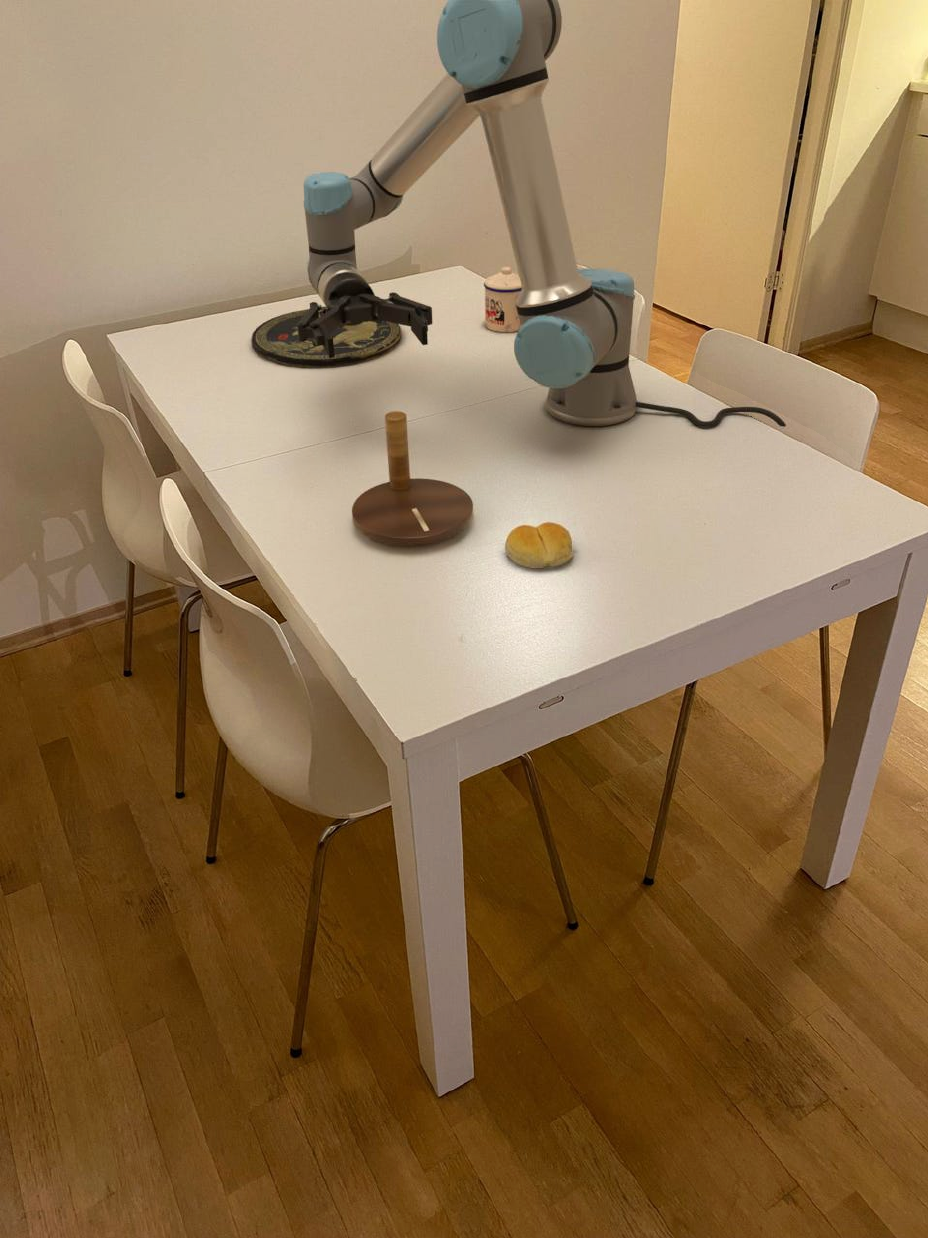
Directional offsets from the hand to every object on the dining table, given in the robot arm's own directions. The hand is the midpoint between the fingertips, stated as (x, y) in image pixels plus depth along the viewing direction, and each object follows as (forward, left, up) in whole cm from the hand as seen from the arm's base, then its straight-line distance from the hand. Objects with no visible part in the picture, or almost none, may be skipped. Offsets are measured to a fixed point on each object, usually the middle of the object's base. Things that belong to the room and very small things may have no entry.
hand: (378, 342), depth 142 cm
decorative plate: (+28, -54, -21) cm, 64 cm away
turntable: (-8, +13, -20) cm, 25 cm away
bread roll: (-27, +18, -21) cm, 39 cm away
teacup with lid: (-7, -67, -21) cm, 70 cm away
